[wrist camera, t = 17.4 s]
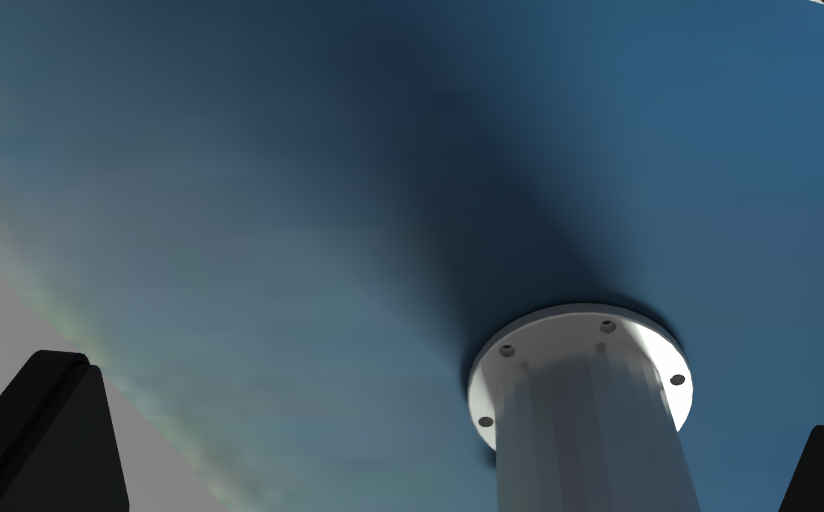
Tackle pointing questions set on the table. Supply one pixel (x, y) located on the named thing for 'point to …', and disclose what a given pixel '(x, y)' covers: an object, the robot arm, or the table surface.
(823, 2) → the medicine bottle
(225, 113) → the table surface
